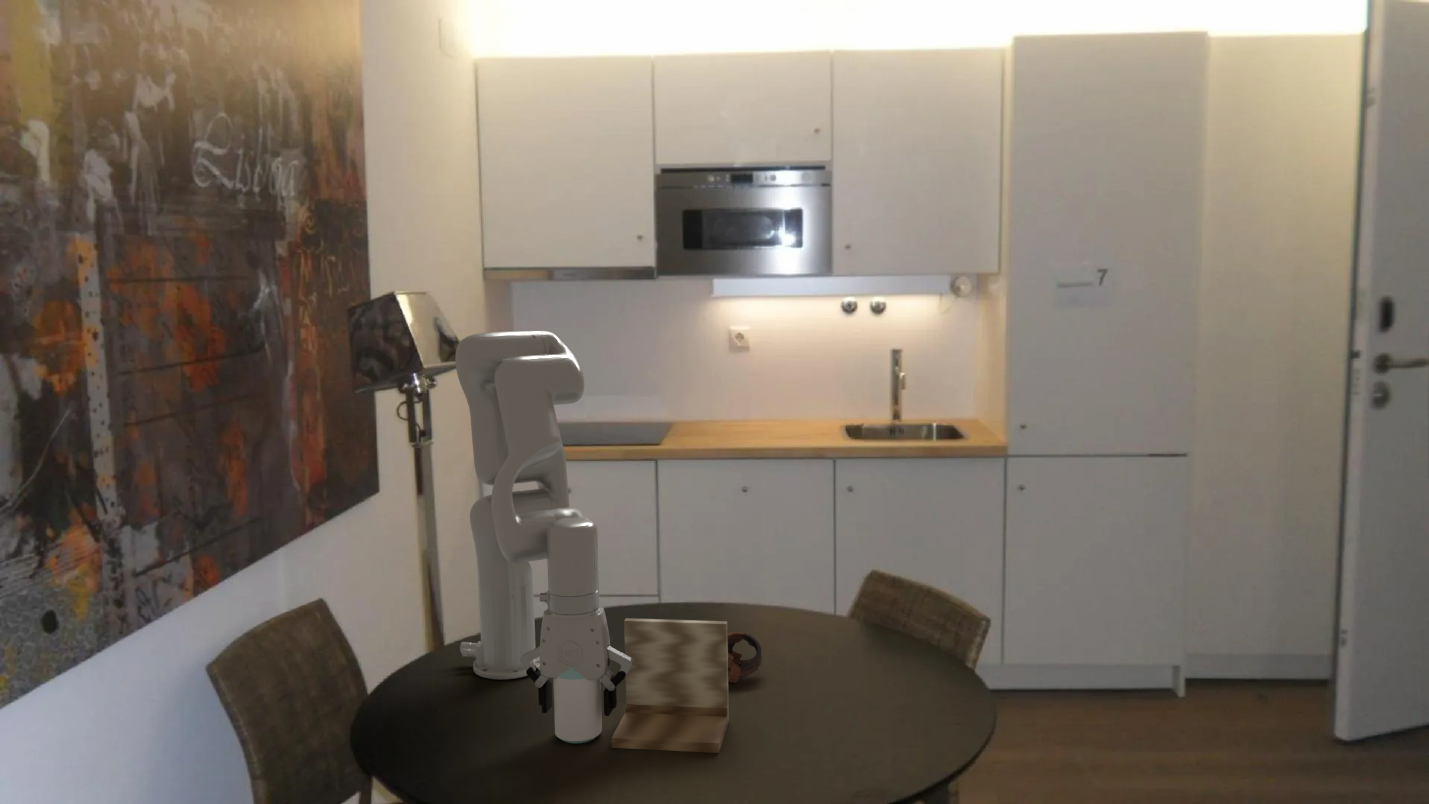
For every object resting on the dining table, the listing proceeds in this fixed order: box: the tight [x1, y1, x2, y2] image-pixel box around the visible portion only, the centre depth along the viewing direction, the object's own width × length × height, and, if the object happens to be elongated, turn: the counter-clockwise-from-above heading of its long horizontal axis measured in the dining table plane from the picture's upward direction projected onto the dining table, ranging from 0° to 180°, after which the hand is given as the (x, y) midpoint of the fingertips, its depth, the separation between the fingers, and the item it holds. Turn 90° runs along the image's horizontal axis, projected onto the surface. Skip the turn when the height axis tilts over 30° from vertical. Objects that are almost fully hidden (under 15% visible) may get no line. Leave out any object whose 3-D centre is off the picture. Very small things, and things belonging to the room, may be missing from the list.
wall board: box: [610, 617, 730, 754], centre depth 157 cm, size 16×11×16 cm
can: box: [552, 666, 603, 744], centre depth 158 cm, size 7×7×12 cm
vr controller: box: [727, 631, 763, 684], centre depth 182 cm, size 12×10×8 cm
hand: (577, 710), depth 158 cm, fingers open, 9 cm apart
